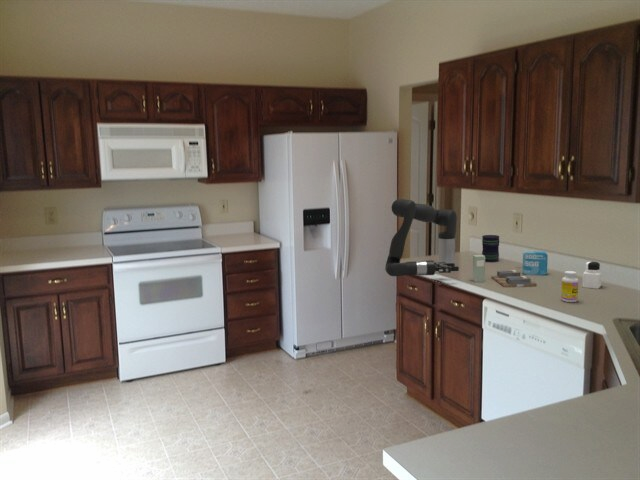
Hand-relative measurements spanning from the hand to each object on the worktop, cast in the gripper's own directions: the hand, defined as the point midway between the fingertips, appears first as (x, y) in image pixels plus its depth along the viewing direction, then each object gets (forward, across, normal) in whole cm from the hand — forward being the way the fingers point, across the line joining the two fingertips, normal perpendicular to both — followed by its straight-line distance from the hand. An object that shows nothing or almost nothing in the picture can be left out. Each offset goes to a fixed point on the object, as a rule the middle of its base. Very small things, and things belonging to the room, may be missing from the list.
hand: (456, 267), depth 289 cm
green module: (+12, 0, +8) cm, 14 cm away
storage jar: (+32, +49, +8) cm, 59 cm away
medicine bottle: (+60, -19, +8) cm, 64 cm away
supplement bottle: (+40, -42, +8) cm, 58 cm away
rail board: (+28, -5, +8) cm, 29 cm away
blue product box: (+44, +11, +8) cm, 46 cm away
